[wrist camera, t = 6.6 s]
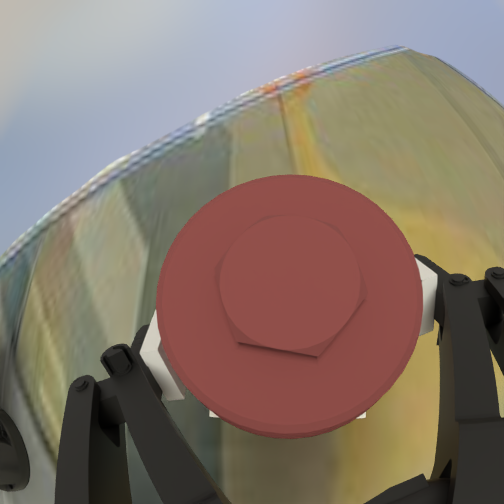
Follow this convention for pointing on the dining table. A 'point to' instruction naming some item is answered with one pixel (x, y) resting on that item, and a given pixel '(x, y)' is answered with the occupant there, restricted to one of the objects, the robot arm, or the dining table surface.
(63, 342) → the dining table surface
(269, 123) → the dining table surface
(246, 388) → the mechanical component
